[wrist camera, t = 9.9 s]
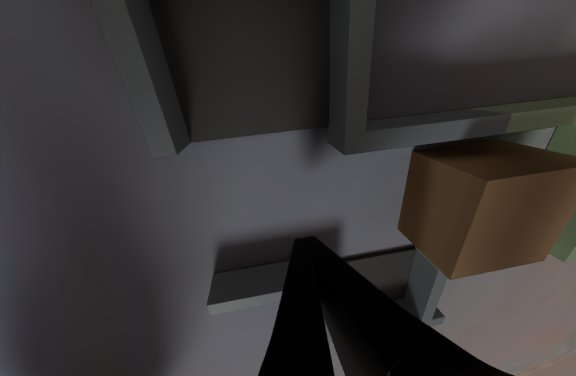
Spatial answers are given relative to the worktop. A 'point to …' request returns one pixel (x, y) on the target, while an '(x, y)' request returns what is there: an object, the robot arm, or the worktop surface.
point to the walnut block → (487, 205)
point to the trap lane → (293, 109)
